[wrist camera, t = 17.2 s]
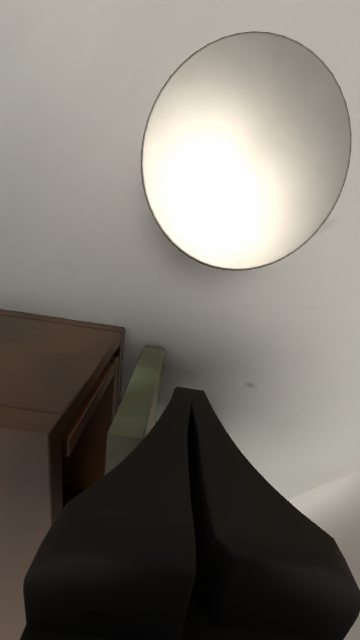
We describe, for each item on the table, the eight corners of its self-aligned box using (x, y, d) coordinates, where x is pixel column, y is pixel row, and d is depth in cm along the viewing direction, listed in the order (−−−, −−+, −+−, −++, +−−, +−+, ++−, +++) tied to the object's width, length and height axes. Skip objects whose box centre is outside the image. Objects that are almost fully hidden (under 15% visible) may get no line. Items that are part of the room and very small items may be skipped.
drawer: (238, 359, 15) (275, 458, 8) (203, 505, 18) (210, 651, 12) (-35, 319, 15) (-214, 386, 8) (-14, 474, 18) (-124, 603, 12)
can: (172, 133, 12) (149, 8, 5) (281, 149, 12) (391, 46, 5) (160, 246, 14) (130, 258, 7) (255, 260, 14) (315, 285, 7)
